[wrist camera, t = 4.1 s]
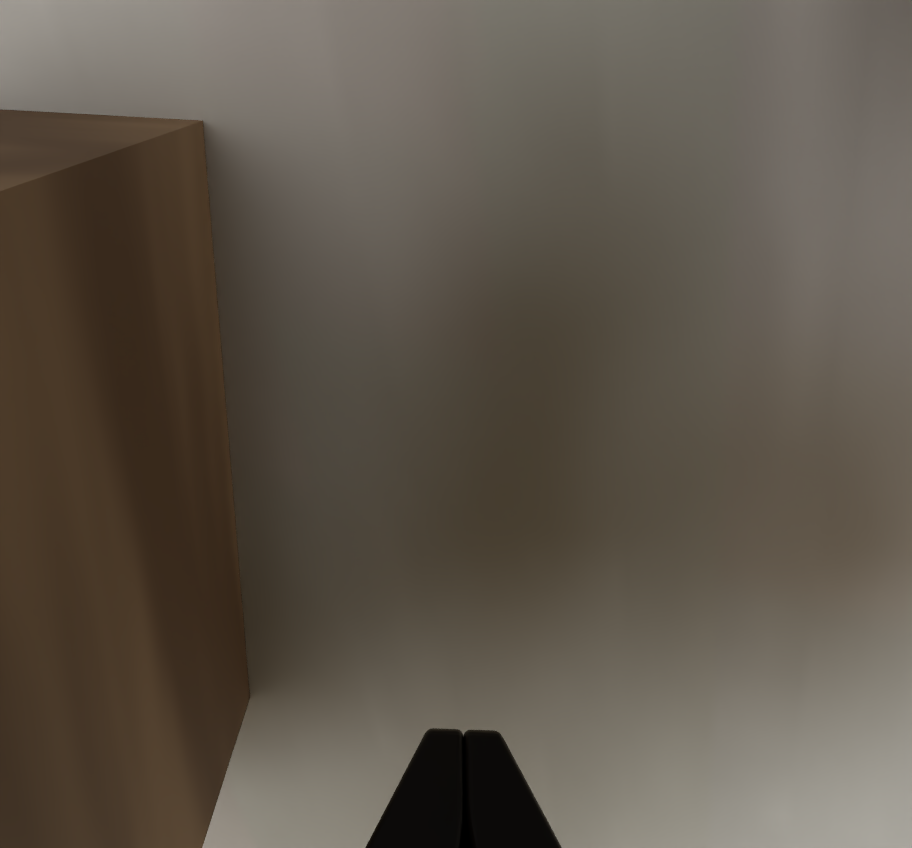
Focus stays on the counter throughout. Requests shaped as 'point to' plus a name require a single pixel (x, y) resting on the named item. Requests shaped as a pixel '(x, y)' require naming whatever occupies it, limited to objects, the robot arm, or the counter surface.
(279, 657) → the counter surface
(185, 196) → the slab
